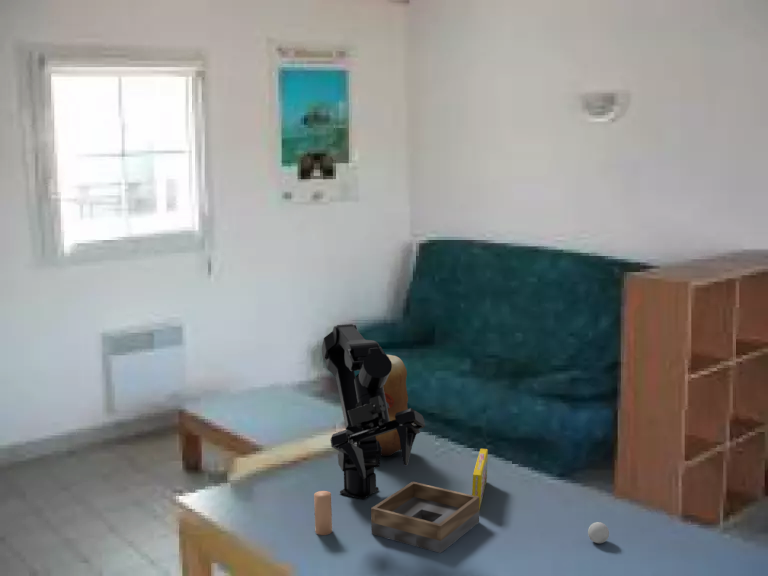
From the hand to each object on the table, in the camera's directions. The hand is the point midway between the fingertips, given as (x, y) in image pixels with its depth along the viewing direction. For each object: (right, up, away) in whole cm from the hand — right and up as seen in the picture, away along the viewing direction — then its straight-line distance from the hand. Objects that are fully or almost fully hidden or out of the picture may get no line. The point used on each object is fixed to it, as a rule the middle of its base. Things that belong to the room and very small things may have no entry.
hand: (384, 471), depth 179 cm
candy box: (+21, -10, +22) cm, 32 cm away
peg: (-12, -13, +6) cm, 19 cm away
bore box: (+8, -13, +6) cm, 17 cm away
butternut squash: (0, -5, +48) cm, 48 cm away
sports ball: (+42, -14, -1) cm, 44 cm away
